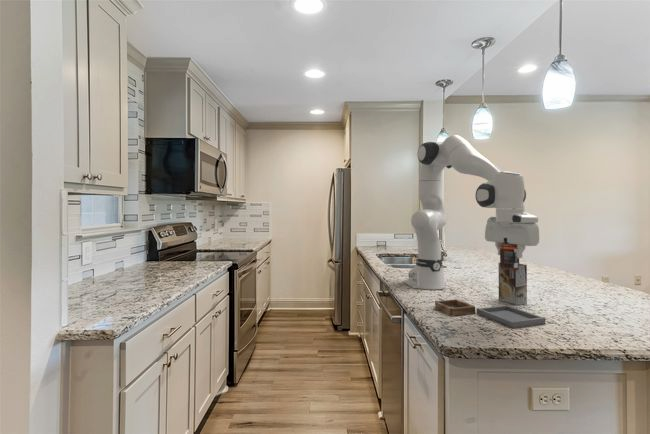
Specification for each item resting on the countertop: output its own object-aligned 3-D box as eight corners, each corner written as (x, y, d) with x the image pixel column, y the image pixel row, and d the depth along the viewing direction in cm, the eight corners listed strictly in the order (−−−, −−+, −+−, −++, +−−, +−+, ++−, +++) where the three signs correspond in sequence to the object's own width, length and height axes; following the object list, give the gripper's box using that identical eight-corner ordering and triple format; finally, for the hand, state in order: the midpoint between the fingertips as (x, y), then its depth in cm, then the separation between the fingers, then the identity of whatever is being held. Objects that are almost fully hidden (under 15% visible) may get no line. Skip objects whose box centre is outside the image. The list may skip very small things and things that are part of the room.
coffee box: (527, 303, 136) (528, 264, 136) (515, 305, 134) (516, 265, 134) (509, 298, 145) (509, 261, 144) (497, 299, 143) (497, 262, 142)
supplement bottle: (522, 271, 114) (522, 238, 114) (503, 270, 115) (503, 238, 115) (515, 268, 120) (515, 236, 119) (497, 267, 121) (497, 236, 121)
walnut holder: (433, 307, 131) (433, 301, 131) (457, 305, 134) (457, 299, 134) (451, 316, 121) (451, 309, 121) (476, 313, 124) (476, 306, 124)
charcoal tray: (476, 313, 123) (476, 308, 123) (506, 310, 127) (506, 305, 127) (512, 328, 108) (512, 322, 108) (545, 323, 112) (545, 318, 112)
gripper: (480, 216, 126) (480, 253, 126) (527, 217, 106) (527, 260, 107) (494, 216, 128) (494, 252, 128) (542, 217, 108) (542, 259, 109)
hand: (509, 256), depth 117 cm, fingers closed on supplement bottle, 6 cm apart
